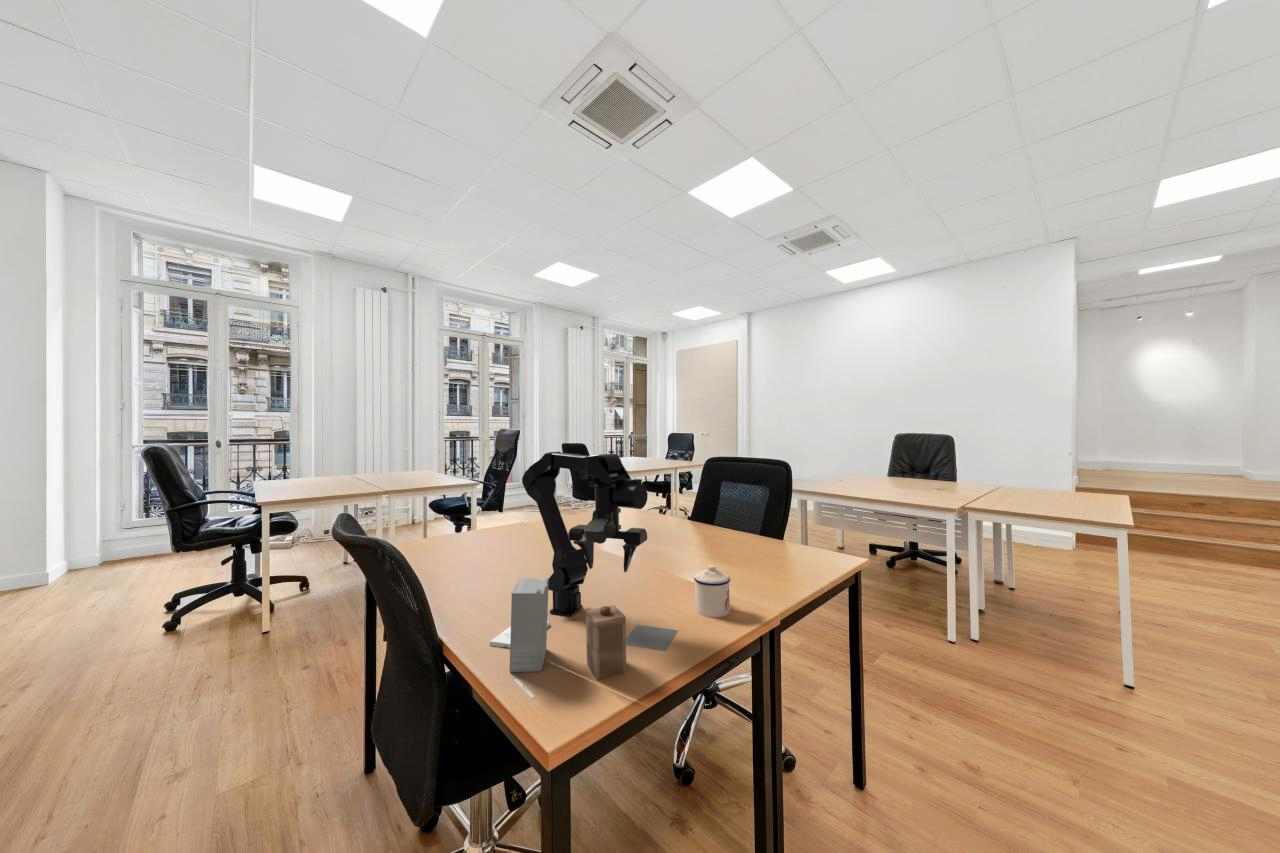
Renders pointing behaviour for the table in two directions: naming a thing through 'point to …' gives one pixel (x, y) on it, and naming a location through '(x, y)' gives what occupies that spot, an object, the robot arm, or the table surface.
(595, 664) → the brown box
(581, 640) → the table surface
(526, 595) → the skincare box
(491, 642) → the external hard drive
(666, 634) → the rubber coaster
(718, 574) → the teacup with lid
